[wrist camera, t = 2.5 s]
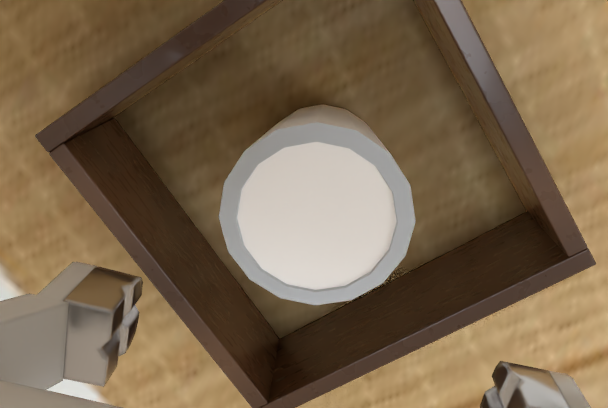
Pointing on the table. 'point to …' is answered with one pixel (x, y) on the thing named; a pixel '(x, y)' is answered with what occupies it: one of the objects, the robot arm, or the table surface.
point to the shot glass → (317, 208)
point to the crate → (360, 313)
